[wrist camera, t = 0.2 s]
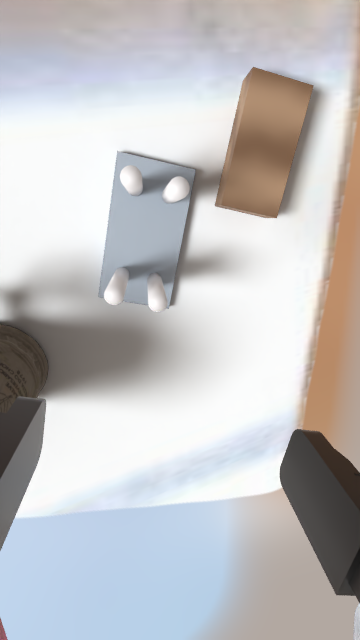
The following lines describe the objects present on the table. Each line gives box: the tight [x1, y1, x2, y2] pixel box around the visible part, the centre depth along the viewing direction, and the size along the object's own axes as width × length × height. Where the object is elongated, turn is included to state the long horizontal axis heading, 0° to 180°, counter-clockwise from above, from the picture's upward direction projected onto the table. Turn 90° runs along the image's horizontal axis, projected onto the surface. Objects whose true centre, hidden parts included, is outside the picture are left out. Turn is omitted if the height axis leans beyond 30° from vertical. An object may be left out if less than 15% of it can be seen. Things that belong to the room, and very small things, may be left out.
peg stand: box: [99, 151, 196, 312], centre depth 31 cm, size 15×8×11 cm, turn 169°
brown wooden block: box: [215, 67, 313, 218], centre depth 33 cm, size 12×6×4 cm, turn 168°
